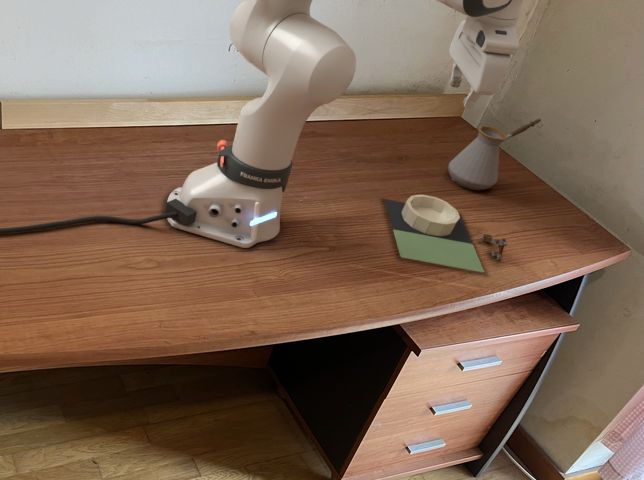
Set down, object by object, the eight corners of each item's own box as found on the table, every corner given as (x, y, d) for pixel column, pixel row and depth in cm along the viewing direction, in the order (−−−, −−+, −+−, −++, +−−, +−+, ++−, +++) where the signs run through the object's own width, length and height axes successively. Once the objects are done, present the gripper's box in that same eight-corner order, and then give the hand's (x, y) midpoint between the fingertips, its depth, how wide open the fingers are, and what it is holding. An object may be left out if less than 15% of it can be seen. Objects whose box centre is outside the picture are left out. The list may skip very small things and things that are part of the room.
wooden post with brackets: (496, 261, 142) (503, 239, 141) (477, 253, 150) (483, 232, 149) (505, 262, 143) (511, 240, 141) (485, 254, 150) (491, 233, 149)
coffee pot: (468, 198, 163) (498, 137, 153) (433, 173, 170) (461, 113, 160) (529, 188, 172) (561, 130, 162) (494, 164, 179) (523, 107, 169)
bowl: (406, 230, 147) (412, 218, 145) (398, 202, 155) (403, 190, 153) (458, 240, 147) (464, 227, 145) (447, 212, 156) (453, 200, 154)
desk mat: (399, 258, 139) (400, 257, 139) (383, 200, 155) (384, 199, 155) (483, 274, 140) (484, 272, 140) (459, 215, 156) (459, 213, 156)
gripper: (457, 4, 143) (432, 72, 153) (489, 46, 128) (459, 117, 138) (487, 8, 144) (460, 75, 153) (522, 50, 129) (490, 121, 139)
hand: (460, 96), depth 146 cm, fingers open, 8 cm apart
